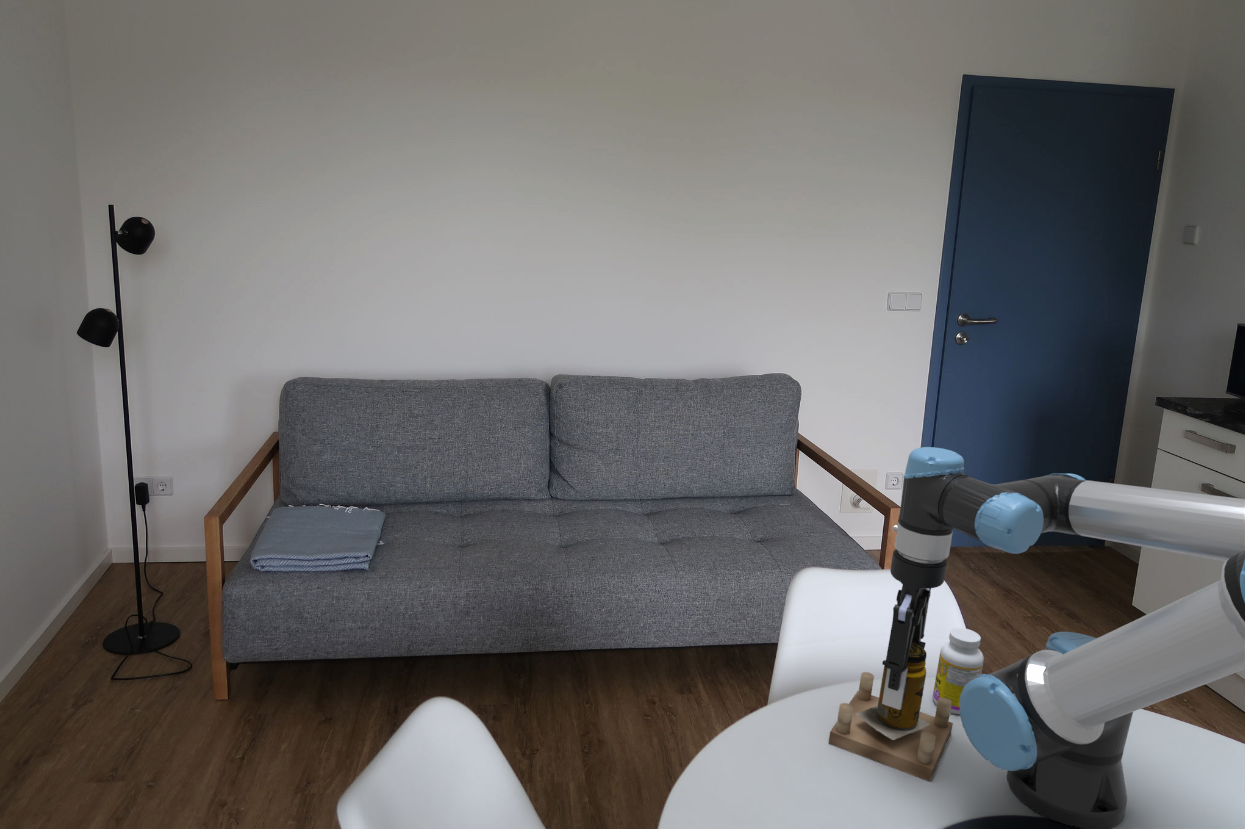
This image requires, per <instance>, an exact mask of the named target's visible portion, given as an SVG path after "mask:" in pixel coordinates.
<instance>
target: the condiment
mask: <svg viewBox="0 0 1245 829" xmlns="http://www.w3.org/2000/svg"><path fill="white" fill-rule="evenodd" d="M926 660H927V651H926V650H925V648H924V649H923V648H922V647H921V646H919V645H917V644H915V643H911V647H910V652H909V657H908V661H907V668H908V671H907V677H906V684H905V690H904V696H903V702H902V708H901V710H898V709H896V708H893V707H890V706H887V705H884V704H882V700H883V694H884V687H885V681H886V675H887V668H885V665H883V672H882V678H881V683H880V690H879V696H878V697H879V701H878V706H876V707H873V708H869V709H867V710H865V711H861V712H858V713H856V715H857V716H859V717H860V718H861V719H862V720H863V721H865V722H867V723H868V724H869V725H870V726H872V727H873V728H875V729H876V730H877V731H879V732H881V733H882V734H884V735H885V736H887V737H889V738H890V739H891V740H895V739H897V738H900V737H901V736H904V735H906V734H909V733H912V732H915V731H917V730H919V729H922V728H924V727H927V726H929V725H930V724H929V723H927V722H926V721H924V720H922V719H921V718H919V712H921V708H922V707H921V706H922V701H923V695H924V689H925V684H926V678H927V668H926Z"/></svg>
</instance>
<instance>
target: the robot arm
mask: <svg viewBox="0 0 1245 829" xmlns="http://www.w3.org/2000/svg"><path fill="white" fill-rule="evenodd" d="M907 458H908V459H907V463H906V467H905V472H904V474H903V483H902V493H901V501H900V506H899V507H900V509H899V514H898V519H897V524H894V525H893V527H892V531H893V532H895V533H896V535H895V540H894V548H895V549H894V550H893V551H892V557H891V564H890V570H889V571H890V574H891V576H892V578H894V579H895V580H896V581H898V582H900V584H901V589H898V591H897V595H896V604H894V606H893V608H892V610H893V612H892V613H893V614H892V622H891V628H890V634H889V640H888V644H887V645H888V646H887V651H886V658H885V659H884V660H883V661H882V665H883V666H884V665H885V668H887V675H886V681H885V687H884V694H883V700H882V704H884V705H887V706H890V707H893V708H896V709H898V710H901V708H902V702H903V696H904V690H905V684H906V677H907V671H908V668H907V661H908V657H909V652H910V647H911V643H915V644H917V645H919V646H921V647H922V648H923V649H924V650H925V648H926V642H925V641H922V640H923V639H924V638H925V629H926V622H927V614H928V610H929V609H928V608H929V603H930V598H931V590H932V589H935V588H938V587H941V586H942V585H943V584H944V582H945V577H946V573H947V566H948V558H949V555H950V550H951V547H952V546H951V545H952V537H953V533H954V532H953V531H954V530H955V531H957V532H960V533H961V534H964V535H967V536H968V537H971V538H972V539H975V540H977V541H979V542H981V543H983V544H984V545H986V546H988V547H991V548H993V549H996V550H1001V551H1003V552H1005V553H1009V554H1017V555H1019V554H1022V553H1024V552H1026V551H1027V550H1028V549H1029V547H1030V546H1031V547H1032V546H1033V545H1035V543H1036V542H1037V541H1038V539H1039V537H1040V536H1041V534H1044V533H1048V532H1055V533H1057V532H1058V533H1063V534H1068V535H1076V536H1081V537H1088V538H1093V539H1098V540H1105V541H1109V542H1115V543H1122V544H1126V545H1132V546H1137V547H1144V548H1149V549H1154V550H1159V551H1164V552H1165V551H1166V552H1171V553H1176V554H1182V555H1188V556H1191V557H1192V556H1193V557H1197V558H1199V557H1200V558H1203V559H1209V560H1215V561H1220V562H1223V564H1222V567H1221V575H1220V576H1221V577H1220V580H1217V581H1216V582H1214V583H1211V584H1209V585H1207V586H1204V587H1203V588H1201V589H1198V590H1196V591H1195V592H1192V593H1190V594H1188V595H1186V596H1184V597H1182V598H1180V599H1177V600H1175V601H1173V602H1171V603H1169V604H1167V605H1165V606H1163V607H1161V608H1159V609H1156V610H1154V611H1152V612H1150V613H1147V614H1145V615H1143V616H1141V617H1140V618H1137V619H1135V620H1133V621H1131V622H1129V623H1127V624H1124V625H1122V626H1120V627H1118V628H1116V629H1114V630H1112V631H1110V632H1107V633H1105V634H1103V635H1101V636H1099V637H1094V636H1090V635H1087V634H1083V633H1077V632H1072V631H1057V632H1054V633H1052V634H1051V635H1049V637H1048V639H1047V642H1045V649H1042V650H1039V651H1037V652H1034V653H1032V654H1030V655H1028V656H1026V657H1024V658H1022V659H1020V660H1017V661H1016V662H1014V663H1012V664H1009V665H1008V666H1006V667H1003V668H1001V669H999V670H996V671H993V672H991V673H988V674H986V673H981V675H979V676H977V677H976V678H975V679H974V680H972V681H970V682H969V683H967V685H966V686H965V687H964V689H963V691H962V693H961V696H960V704H961V707H960V714H959V716H960V721H961V724H962V728H963V730H964V732H965V734H966V736H967V739H968V740H969V742H970V743H971V746H973V748H974V749H975V750H976V752H978V754H979V755H981V757H982V758H983V759H984V760H986V761H989V762H990V763H991V765H993V766H994V767H995V768H997V769H1000V770H1002V771H1003V770H1004V771H1006V780H1007V783H1008V786H1009V787H1010V789H1011V791H1012V792H1013V793H1014V794H1015V796H1016V797H1017V798H1018V799H1019V800H1020V801H1021V802H1022V803H1023V804H1024V805H1026V806H1027V807H1029V808H1030V809H1032V810H1033V811H1035V812H1037V813H1038V814H1040V815H1041V816H1043V817H1046V818H1047V819H1050V820H1052V821H1054V822H1057V821H1058V822H1057V823H1059V822H1061V823H1060V824H1062V823H1063V824H1062V825H1065V824H1066V825H1065V826H1069V825H1070V826H1069V827H1072V826H1075V827H1074V828H1077V827H1079V828H1078V829H1110V828H1113V827H1116V826H1118V825H1119V824H1120V823H1121V822H1122V821H1123V819H1124V816H1125V813H1126V807H1127V804H1128V795H1127V789H1126V781H1125V777H1124V776H1125V775H1124V770H1123V769H1124V768H1123V763H1122V762H1123V761H1122V759H1123V754H1124V750H1125V746H1126V743H1127V738H1128V734H1129V730H1130V726H1131V724H1132V723H1131V722H1132V717H1133V714H1134V712H1136V711H1138V710H1141V709H1144V708H1146V707H1150V706H1152V705H1154V704H1157V703H1159V702H1162V701H1165V700H1168V699H1170V698H1173V697H1176V696H1178V695H1181V694H1184V693H1186V692H1189V691H1191V690H1194V689H1196V688H1199V687H1201V686H1206V684H1209V683H1212V682H1215V681H1219V680H1220V679H1222V678H1226V677H1228V676H1230V675H1233V674H1235V673H1239V672H1241V671H1244V670H1245V498H1236V497H1230V496H1228V497H1227V496H1222V495H1221V496H1220V495H1212V494H1204V493H1195V492H1187V491H1178V490H1173V489H1172V490H1169V489H1161V488H1153V487H1146V486H1136V485H1131V484H1130V485H1128V484H1120V483H1111V482H1104V481H1102V482H1101V481H1095V480H1086V479H1085V477H1083V476H1081V475H1078V474H1074V473H1050V474H1048V475H1044V476H1040V477H1039V476H1037V477H1033V478H1028V479H1021V480H1020V479H1019V480H1015V481H1010V482H1009V481H1008V482H1003V483H998V484H992V483H988V482H985V481H983V480H979V479H976V478H974V477H973V476H970V475H967V474H966V473H964V472H965V467H964V466H965V460H964V458H963V456H962V455H960V454H959V453H958V452H955V451H953V450H950V449H947V448H943V447H941V448H940V447H933V446H932V447H931V446H924V447H923V446H922V447H917V448H915V449H913V450H911V452H910V453H909V455H908V457H907ZM953 529H954V530H953Z"/></svg>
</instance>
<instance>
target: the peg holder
mask: <svg viewBox="0 0 1245 829" xmlns="http://www.w3.org/2000/svg"><path fill="white" fill-rule="evenodd" d="M874 679H875V675H874V674H873V673H871V672H868V671H867V672H866V671H863V672H861V674H860V679H859V680H860V681H859V685H858V686H859V688H858V690H857V691H856V693H855V694H853V695H854V696H853V697H852V698H851V700H850V701H849V703H847V702H842V703H840V704H839V708H838V714H837V721H836V722H835V723H834V725H833V726H832V728H831V730H830V731H829V738H828V744H830V745H833V746H835V747H838V748H840V749H843V750H844V751H845V750H846V751H848V752H851V753H854V754H856V755H859V756H861V757H863V758H867V759H869V760H872V761H875V762H877V763H880V764H883V765H884V766H887V767H890V768H893V769H896V770H898V771H901V772H904V773H906V774H908V775H912V776H915V777H916V778H918V779H922V780H925V781H927V782H932V779H933V776H934V774H935V772H936V770H937V767H938V766H939V763H940V760H941V758H942V755H943V754H944V751H945V749H946V746H947V745H948V743H949V740H950V737H951V735H952V729H953V726H954V725H953V724H954V723H953V722H951V721H950V716H951V713H950V710H951V705H952V702H951V701H950V700H949V699H947V698H939V699H938V703H937V705H936V710H935V715H931V714H928V713H925V712H923V711H920V712H919V718H921V719H922V720H924V721H926V722H927V723H929V724H930V725H929V726H927V727H924V728H922V729H919V730H917V731H915V732H912V733H909V734H906V735H904V736H901V737H900V738H897V739H895V740H891V739H890V738H889V737H887V736H885V735H884V734H882V733H881V732H879V731H877V730H876V729H875V728H873V727H872V726H870V725H869V724H868V723H867V722H865V721H863V720H862V719H861V718H860V717H859V716H857V715H856V713H858V712H861V711H865V710H867V709H869V708H873V707H876V706H878V701H879V696H877V695H876V696H875V695H872V693H873V686H874Z"/></svg>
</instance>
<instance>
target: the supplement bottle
mask: <svg viewBox="0 0 1245 829" xmlns="http://www.w3.org/2000/svg"><path fill="white" fill-rule="evenodd" d="M948 639H949V641H946V642H945V643H944V644H943V645H942V646H941V647H940V650H939V656H938V663H937V668H936V674H935V681H934V686H933V691H932V692H933V693H932V701H933V702H934V704H935V706H937V703H938V699H939V698H947V699H949V700H950V701H951V702H952V705H951V710H950V714H953V715H954V714H955V715H960V707H961V704H960V696H961V693H962V691H963V689H964V687H965V686H966V685H967V683H969V682H970V681H972V680H974V679H975V678H976V677H977V676H979V675H982V671H983V666H984V659H985V658H984V655H983V652H982V651H981V649H979V647H980V645H981V639H982V637H981V636H980V634H979V633H978V632H976V631H974V630H972V629H969V628H964V627H954V628H952V629H951V630H950V631H949V635H948Z"/></svg>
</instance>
